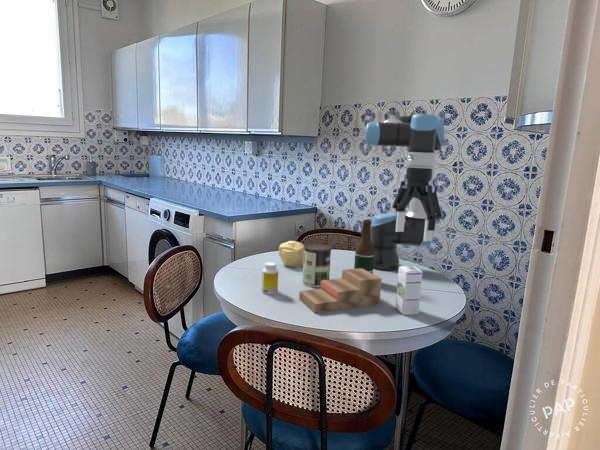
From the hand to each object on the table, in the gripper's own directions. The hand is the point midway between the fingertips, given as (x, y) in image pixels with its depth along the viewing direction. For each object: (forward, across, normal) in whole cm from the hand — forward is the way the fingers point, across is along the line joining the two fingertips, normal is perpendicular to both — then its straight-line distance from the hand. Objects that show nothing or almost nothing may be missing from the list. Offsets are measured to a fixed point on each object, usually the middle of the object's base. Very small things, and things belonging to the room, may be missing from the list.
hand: (412, 236), depth 129 cm
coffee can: (+25, -34, -16) cm, 45 cm away
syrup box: (+25, 0, 0) cm, 25 cm away
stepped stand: (+25, -14, -17) cm, 33 cm away
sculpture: (+25, -58, -15) cm, 65 cm away
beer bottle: (+25, -31, +3) cm, 40 cm away
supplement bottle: (+25, -30, -36) cm, 53 cm away
